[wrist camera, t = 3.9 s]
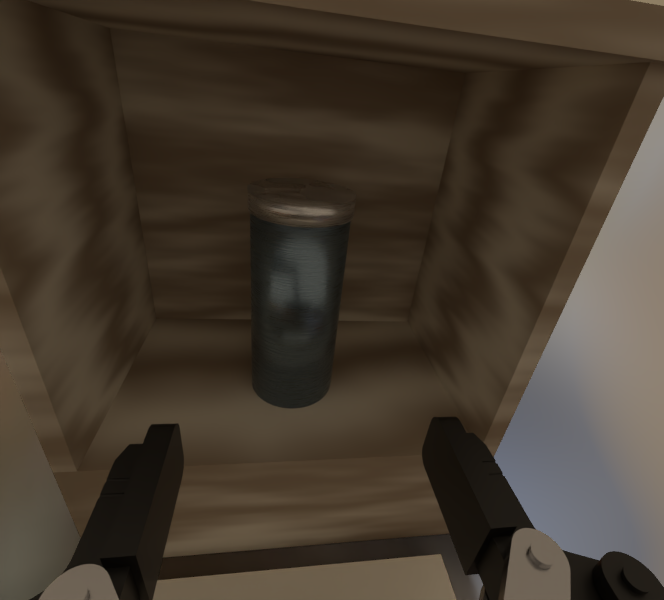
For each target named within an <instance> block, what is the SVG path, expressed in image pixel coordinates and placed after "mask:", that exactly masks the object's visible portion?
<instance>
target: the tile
mask: <svg viewBox="0 0 664 600" xmlns="http://www.w3.org/2000/svg"><path fill="white" fill-rule="evenodd" d="M153 600H457V599H456V596H455V594H454V591H453V588H452V585H451V582H450V579H449V576H448V573H447V571H446V568H445V565H444V562H443V559H442V556H441V554H436V555H426V556H415V557H404V558H393V559H382V560H372V561H361V562H350V563H339V564H328V565H318V566H307V567H296V568H285V569H274V570H264V571H253V572H242V573H231V574H220V575H210V576H199V577H188V578H177V579H166V580H157V583H156V588H155V592H154V596H153Z"/></svg>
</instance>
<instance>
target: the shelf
mask: <svg viewBox="0 0 664 600" xmlns="http://www.w3.org/2000/svg"><path fill="white" fill-rule="evenodd" d="M663 97H664V6H660V5H654V4H649V3H643V2H637V1H631V0H0V349H1V352H2V354H3V357H4V359H5V361H6V364H7V366H8V368H9V371H10V373H11V375H12V378H13V380H14V382H15V385H16V387H17V389H18V392H19V394H20V396H21V399H22V401H23V404H24V406H25V408H26V411H27V413H28V415H29V418H30V420H31V422H32V425H33V427H34V429H35V432H36V434H37V436H38V439H39V441H40V443H41V446H42V448H43V451H44V453H45V455H46V458H47V460H48V462H49V465H50V467H51V469H52V472H53V474H54V476H55V479H56V481H57V483H58V486H59V488H60V490H61V493H62V495H63V498H64V500H65V502H66V505H67V507H68V509H69V512H70V514H71V516H72V519H73V521H74V523H75V526H76V528H77V530H78V533H79V535H80V537H82V534H83V532H84V530H85V528H86V525H87V523H88V521H89V518H90V516H91V514H92V511H93V509H94V507H95V504H96V502H97V500H98V498H99V497H100V493H101V491H102V488H103V486H104V484H105V482H106V481H107V477H108V475H109V472H110V470H111V468H112V465H113V463H114V461H115V459H116V458H117V457H118V456H119V455H120V454H121V453H122V452H123V451H124V449H125V448H126V447H127V446H128V445H129V444H143V442H144V439H145V436H146V434H147V431H148V429H149V427H150V425H151V424H175V423H178V424H179V427H180V433H181V440H182V447H183V453H184V469H183V476H182V481H181V485H180V489H179V493H178V497H177V501H176V505H175V509H174V513H173V518H172V522H171V526H170V530H169V534H168V538H167V542H166V546H165V550H164V555H163V558H164V557H176V556H188V555H200V554H212V553H224V552H236V551H248V550H260V549H272V548H284V547H296V546H308V545H320V544H332V543H344V542H356V541H367V540H379V539H391V538H403V537H415V536H427V535H439V534H450V533H449V531H448V528H447V525H446V523H445V520H444V518H443V515H442V512H441V510H440V507H439V504H438V502H437V499H436V497H435V494H434V491H433V489H432V486H431V484H430V481H429V478H428V476H427V473H426V470H425V468H424V465H423V460H422V447H423V444H424V441H425V438H426V435H427V431H428V428H429V425H430V422H431V420H432V418H433V417H452V416H455V417H457V418H458V419H459V420H460V422H461V423H462V425H463V427H464V429H465V431H466V433H474V434H475V435H476V436H477V437H478V438H479V439H480V440H481V441H482V442H484V443H485V444H486V445H487V447H488V449H489V450H490V452H491V454H492V456H493V457H494V455H495V453H496V451H497V449H498V446H499V445H500V442H501V440H502V438H503V436H504V434H505V432H506V430H507V428H508V425H509V423H510V421H511V419H512V417H513V415H514V413H515V411H516V408H517V406H518V404H519V402H520V400H521V397H522V396H523V394H524V391H525V389H526V387H527V385H528V383H529V381H530V379H531V377H532V374H533V372H534V370H535V368H536V366H537V364H538V362H539V359H540V358H541V355H542V353H543V351H544V349H545V347H546V345H547V343H548V341H549V338H550V336H551V334H552V332H553V330H554V328H555V326H556V324H557V321H558V319H559V317H560V315H561V313H562V311H563V309H564V307H565V304H566V302H567V300H568V298H569V296H570V294H571V292H572V289H573V288H574V285H575V283H576V281H577V279H578V277H579V274H580V272H581V270H582V268H583V266H584V264H585V262H586V260H587V258H588V256H589V254H590V251H591V249H592V247H593V245H594V243H595V241H596V238H597V237H598V235H599V232H600V230H601V228H602V226H603V224H604V222H605V220H606V218H607V215H608V213H609V211H610V209H611V207H612V205H613V203H614V200H615V198H616V196H617V194H618V192H619V190H620V188H621V186H622V184H623V181H624V179H625V177H626V175H627V173H628V171H629V169H630V166H631V164H632V162H633V160H634V158H635V156H636V154H637V152H638V150H639V148H640V145H641V143H642V141H643V139H644V137H645V134H646V132H647V131H648V128H649V126H650V124H651V122H652V120H653V118H654V116H655V113H656V111H657V109H658V107H659V105H660V103H661V101H662V99H663ZM268 178H302V179H312V180H319V181H324V182H329V183H334V184H337V185H340V186H343V187H346V188H348V189H350V190H352V191H353V192H354V193H355V194H356V201H355V209H354V217H353V219H352V220H351V224H350V232H349V240H348V248H347V256H346V264H345V272H344V280H343V288H342V296H341V304H340V312H339V320H338V328H337V336H336V344H335V352H334V360H333V368H332V375H331V383H330V388H329V390H328V392H327V394H326V395H325V396H324V397H323V398H322V399H321V400H320V401H318V402H316V403H315V404H312V405H310V406H307V407H302V408H293V409H289V408H281V407H277V406H273V405H271V404H269V403H267V402H265V401H263V400H262V399H261V398H260V397H259V396H258V395H257V394H256V393H255V391H254V389H253V386H252V352H251V265H250V212H249V211H248V192H247V187H248V185H249V184H250V183H251V182H254V181H257V180H261V179H268Z"/></svg>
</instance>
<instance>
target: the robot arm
mask: <svg viewBox="0 0 664 600" xmlns="http://www.w3.org/2000/svg"><path fill="white" fill-rule="evenodd" d="M422 460H423V465H424V468H425V470H426V473H427V476H428V478H429V481H430V484H431V486H432V489H433V491H434V494H435V497H436V499H437V502H438V504H439V507H440V510H441V512H442V515H443V518H444V520H445V523H446V525H447V528H448V531H449V533H450V536H451V539H452V541H453V544H454V546H455V549H456V552H457V554H458V557H459V559H460V562H461V565H462V567H463V570H464V573H465V575H472V574H479V575H480V577H481V580H482V582H483V586H482V589H481V593H480V598H479V600H664V587H663V586H662V585H661V583H660V582H659V581H658V579H657V578H656V577H655V575H654V574H653V573H652V572H651V571H650V570H649V569H648V568H646V567H645V566H644V565H643V564H642V563H641V562H639V561H638V560H636V559H635V558H633V557H631V556H629V555H627V554H624V553H621V552H615V551H613V552H608V553H606V554H605V555H604V556H603V557H602V558H601V560H600V561H599V560H595V559H592V558H588V557H585V556H581V555H577V554H574V553H570V552H567V551H564V550H562V549H561V548H560V547H559V546H558V545H557V543H556V542H555V541H553V540H552V539H551V538H550V537H549V536H547V535H546V534H544V533H542V532H540V531H538V530H536V529H535V528H534V526H533V525H532V523H531V521H530V520H529V518H528V516H527V515H526V513H525V511H524V510H523V508H522V506H521V504H520V502H519V501H518V499H517V497H516V496H515V494H514V492H513V490H512V489H511V487H510V485H509V484H508V482H507V480H506V478H505V477H504V476H503V475H502V471H501V470H500V468H499V466H498V464H496V463H495V459H494V457H493V456H492V454H491V452H490V450H489V449H488V447H487V445H486V444H485V443H484V442H482V441H481V440H480V439H479V438H478V437H477V436H476V435H475V434H474V433H466V431H465V429H464V427H463V425H462V423H461V422H460V420H459V419H458V418H457V417H455V416H452V417H433V418H432V420H431V422H430V425H429V428H428V431H427V435H426V438H425V441H424V444H423V447H422ZM183 469H184V453H183V447H182V440H181V433H180V427H179V424H178V423H175V424H151V425H150V427H149V429H148V431H147V434H146V436H145V439H144V442H143V444H129V445H128V446H127V447H126V448H125V449H124V451H123V452H122V453H121V454H120V455H119V456H118V457H117V458H116V459H115V461H114V463H113V465H112V468H111V470H110V472H109V475H108V477H107V481H106V482H105V484H104V486H103V488H102V491H101V493H100V497H99V498H98V500H97V502H96V504H95V507H94V509H93V511H92V514H91V516H90V518H89V521H88V523H87V525H86V528H85V530H84V532H83V534H82V537H81V539H80V541H79V544H78V546H77V548H76V551H75V553H74V555H73V557H72V559H71V561H70V563H69V565H68V566H67V568H66V569H65V571H64V572H63V573H62V574H61V575H60V576H59V577H57V578H56V579H55V580H54V581H53V582H52V583H51V584H50V585H49V586H48V587H47V588H46V590H44V591H43V592H41V593H40V594H38V595H37V596H35V597H33V598H32V599H30V600H153V596H154V592H155V588H156V583H157V579H158V575H159V571H160V567H161V563H162V559H163V555H164V550H165V546H166V542H167V538H168V534H169V530H170V526H171V522H172V518H173V513H174V509H175V505H176V501H177V497H178V493H179V489H180V485H181V481H182V476H183Z"/></svg>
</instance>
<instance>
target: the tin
mask: <svg viewBox="0 0 664 600" xmlns="http://www.w3.org/2000/svg"><path fill="white" fill-rule="evenodd" d="M247 192H248V211H249V212H250V265H251V352H252V386H253V389H254V391H255V393H256V394H257V395H258V396H259V397H260V398H261V399H262V400H263V401H265V402H267V403H269V404H271V405H273V406H277V407H281V408H289V409H293V408H302V407H307V406H310V405H312V404H315V403H316V402H318V401H320V400H321V399H322V398H323V397H324V396H325V395H326V394H327V392H328V390H329V388H330V383H331V375H332V368H333V360H334V352H335V344H336V336H337V328H338V320H339V312H340V304H341V296H342V288H343V280H344V272H345V264H346V256H347V248H348V240H349V232H350V224H351V220H352V219H353V217H354V209H355V201H356V194H355V193H354V192H353V191H352V190H350V189H348V188H346V187H343V186H340V185H337V184H334V183H329V182H324V181H319V180H312V179H302V178H268V179H261V180H257V181H254V182H251V183H250V184H249V185H248V187H247Z"/></svg>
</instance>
